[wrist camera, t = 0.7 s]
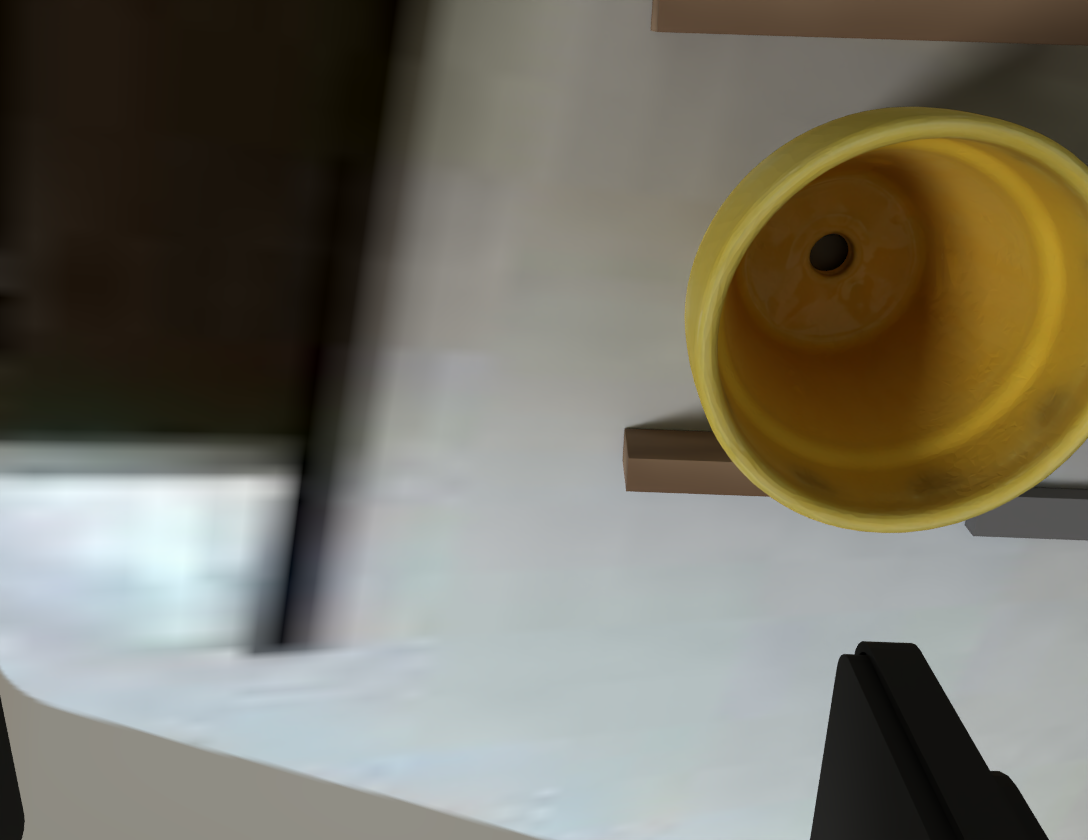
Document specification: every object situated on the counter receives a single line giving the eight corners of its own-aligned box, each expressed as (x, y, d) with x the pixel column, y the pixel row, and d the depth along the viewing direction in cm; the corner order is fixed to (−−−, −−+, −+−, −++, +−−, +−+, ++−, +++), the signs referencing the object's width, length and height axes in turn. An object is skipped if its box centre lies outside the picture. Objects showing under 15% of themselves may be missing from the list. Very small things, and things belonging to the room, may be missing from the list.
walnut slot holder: (653, -14, 29) (660, -16, 27) (1062, -1, 29) (1104, -2, 27) (622, 459, 35) (626, 491, 33) (961, 472, 35) (989, 504, 33)
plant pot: (743, 30, 30) (818, 39, 21) (1046, 156, 31) (1243, 216, 22) (613, 338, 34) (629, 459, 24) (887, 439, 35) (999, 591, 26)
